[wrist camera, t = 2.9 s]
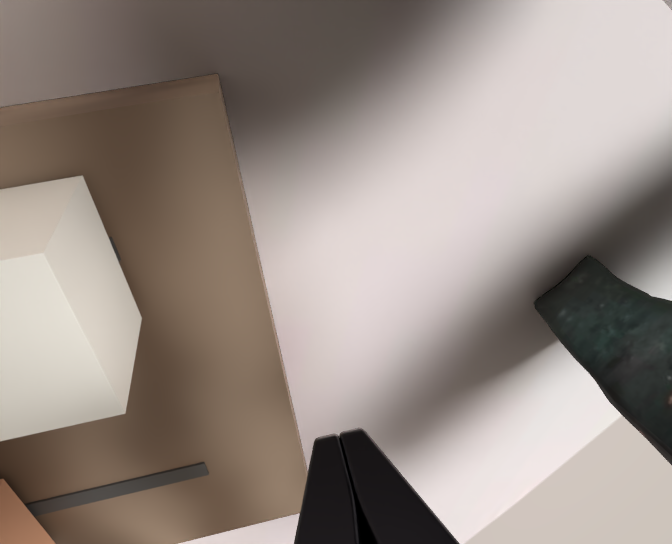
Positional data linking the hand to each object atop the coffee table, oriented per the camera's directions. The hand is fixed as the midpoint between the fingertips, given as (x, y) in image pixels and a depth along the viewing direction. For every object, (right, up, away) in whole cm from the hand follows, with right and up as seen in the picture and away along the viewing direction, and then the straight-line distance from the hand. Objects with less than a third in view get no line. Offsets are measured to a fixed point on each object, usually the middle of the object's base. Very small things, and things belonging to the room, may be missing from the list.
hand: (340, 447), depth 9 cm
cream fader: (-9, +3, +6) cm, 11 cm away
